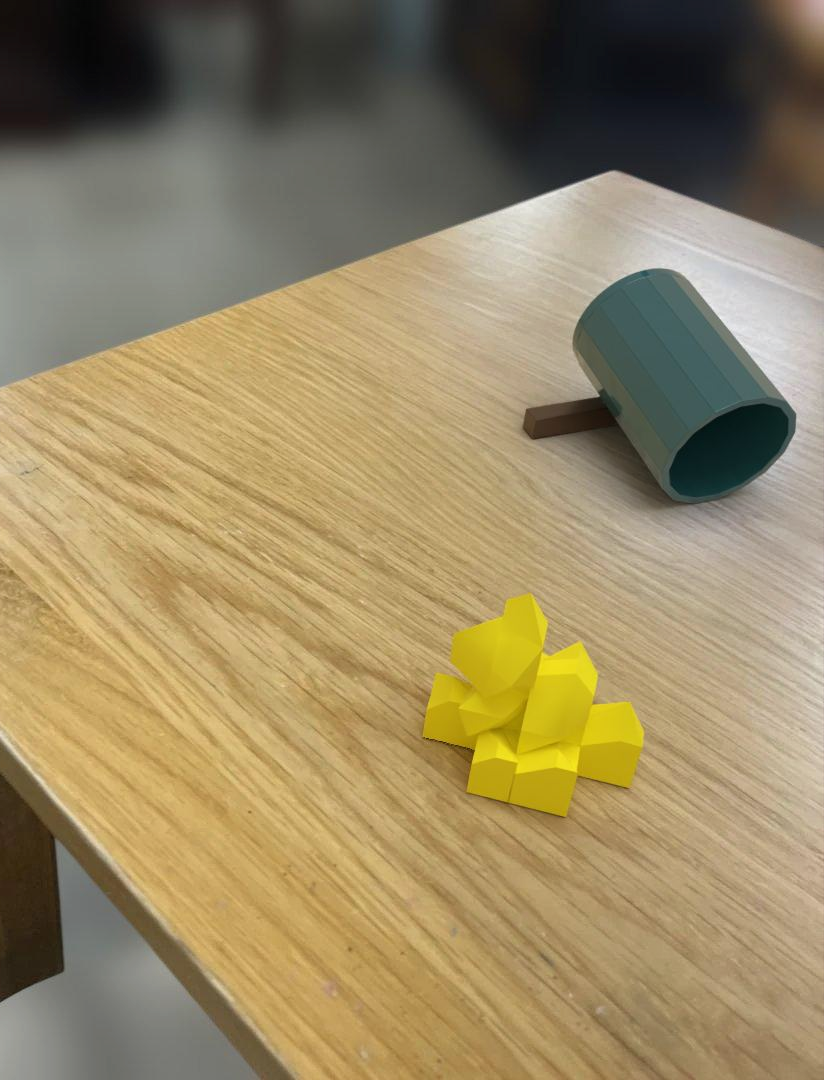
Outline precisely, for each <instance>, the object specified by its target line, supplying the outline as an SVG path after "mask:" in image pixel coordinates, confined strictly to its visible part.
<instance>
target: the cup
mask: <svg viewBox="0 0 824 1080" xmlns="http://www.w3.org/2000/svg"><path fill="white" fill-rule="evenodd" d="M571 343H572V352H573V355H574V357H575V359H576V361H577V362H578V366H579V367H580V369H581V370H582V371H583V373H584V374H585V376H586V377H587V379H588V380H589V382H590V383H591V385H592V386H593V388H594V389H595V391H596V392H597V394H598V395H599V397H601V398H602V400H603V401H604V403H605V404H606V406H607V407H608V409H609V410H610V412H611V413H612V415H613V416H614V418H615V419H616V421H617V422H618V424H617V425H618V426H619V427H620V429H621V430H622V431H623V433H624V434H625V436H626V437H627V439H628V440H629V442H630V443H631V445H632V446H633V448H634V449H635V450H636V452H637V453H638V455H639V457H640V458H641V460H642V461H643V462H644V464H645V466H646V467H647V468H648V470H649V472H650V473H651V474H652V476H653V477H654V479H655V480H656V482H657V484H658V485H659V486H660V488H661V490H663V491H664V493H666V494H667V495H668V496H669V497H670V498H671V499H672V500H673V501H675V502H676V501H677V502H682V503H687V504H699V503H704V502H710V501H716V500H719V499H721V498H723V497H726V496H729V495H730V494H733V493H736V492H737V491H740V490H742V489H744V488H746V487H747V486H748V485H749V484H751V483H753V482H754V481H756V480H757V479H759V478H760V477H762V475H764V474H766V472H768V471H769V470H770V469H771V468H772V466H773V465H775V463H776V462H777V461H778V460H779V459H780V458H781V457H782V456H783V455H784V454H785V453H786V451H787V449H788V447H789V446H790V444H791V442H792V440H793V438H794V436H795V434H796V431H797V413H796V411H795V409H794V408H793V407H792V406H791V404H790V403H789V402H788V401H787V399H786V398H785V397H784V396H783V395H782V393H781V392H780V391H779V389H778V388H777V387H776V386H775V384H774V383H773V382H772V380H770V378H769V377H768V376H767V375H766V373H764V371H763V370H762V369H761V368H760V366H759V365H758V363H756V361H755V360H754V359H753V357H752V356H751V355H750V354H749V353H748V351H747V350H746V349H745V348H744V346H743V345H742V344H741V342H739V340H738V339H737V338H736V336H735V335H734V334H733V333H732V332H731V330H730V329H729V328H728V327H727V325H726V324H725V323H724V322H723V321H722V319H720V317H719V316H718V314H717V313H716V312H715V310H714V309H713V308H712V307H711V306H710V305H709V303H708V302H707V301H706V299H704V297H703V296H702V294H700V292H699V291H698V289H696V287H695V286H694V285H693V283H691V281H690V280H689V279H688V278H687V277H686V276H685V275H683V274H682V273H681V272H679V271H676V270H674V269H670V268H663V267H657V268H655V267H653V268H647V269H643V270H639V271H635V272H633V273H630V274H628V275H626V276H624V277H622V278H620V279H618V280H617V281H615V282H613V283H611V284H610V285H609V286H608V287H606V288H605V289H603V290H602V291H601V292H599V294H598V295H596V297H594V299H593V300H591V301H590V303H589V304H588V305H587V306H586V308H585V309H584V310H583V312H582V314H581V315H580V317H579V319H578V320H577V323H576V324H575V327H574V331H573V334H572V341H571Z"/></svg>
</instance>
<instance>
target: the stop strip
mask: <svg viewBox="0 0 824 1080" xmlns="http://www.w3.org/2000/svg"><path fill="white" fill-rule="evenodd" d="M615 425H619V424H618V422H617V421H616V419H615V418H614V416H613V415H612V413H611V412H610V410H609V409H608V407H607V406H606V404H605V403H604V401H603V400H602V398H601V397H600V396H594V397H589V398H582V399H575V400H570V401H564V402H557V403H551V404H545V405H539V406H532V407H527V408H526V409H525V411H524V417H523V423H522V428H523V429H524V430H525V432H526V433H527V434H528V435H529V436H530V438H531V439H533V440H534V439H539V438H545V437H551V436H552V437H553V436H556V435H562V434H563V435H564V434H569V433H574V432H580V431H581V432H582V431H586V430H593V429H599V428H604V427H610V426H615Z"/></svg>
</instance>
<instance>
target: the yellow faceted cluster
mask: <svg viewBox="0 0 824 1080" xmlns="http://www.w3.org/2000/svg"><path fill="white" fill-rule="evenodd" d="M548 625H549V622H548V620H547V618H546V616H545V615H544V613H543V611H542V610H541V608H540V606H539V604H538V603H537V600H536V599H535V597H534V596H533V594H532V592H529V593H526V594H522V595H519V596H515V597H511V598H507V599H506V601H505V606H504V610H503V615H502V616H498V617H496V618H493V619H490V620H487V621H484V622H482V623H479V624H476V625H473V626H470V627H468V628H465V629H461V630H459V631H457V632H453V636H452V642H451V650H450V655H449V662H450V663H451V664H452V665H453V666H454V667H455V668H456V669H457V670H458V671H459V672H460V673H461V675H462V676H464V677H465V678H466V679H467V680H468V681H469V682H467V681H466V680H463V679H461V678H460V677H457V676H453V675H450V674H445V673H441V672H435V674H434V675H435V676H434V679H433V684H432V687H431V688H432V689H431V692H430V696H429V700H428V703H427V706H426V711H425V716H424V724H423V731H422V737H425V738H424V739H426V738H429V739H428V740H430V739H435V740H439V741H443V742H447V743H450V744H449V745H451V744H454V745H453V746H455V745H459V746H463V747H468V748H470V749H469V750H471V749H472V751H474V752H473V756H472V761H471V764H470V765H471V766H470V770H469V775H468V780H467V781H468V782H467V784H466V785H467V786H466V791H465V792H466V793H467V794H468V793H469V794H472V795H476V796H481V797H485V798H488V799H492V800H496V801H500V802H503V803H508V804H512V805H516V806H520V807H523V808H524V807H525V808H528V809H532V810H536V811H539V812H543V813H548V814H551V815H556V816H560V817H563V818H567V817H568V816H567V815H568V813H569V809H570V805H571V802H572V797H573V794H574V790H575V787H576V783H577V779H578V777H582V778H586V779H590V780H595V781H599V782H602V783H606V784H611V785H615V786H618V787H622V788H626V789H630V787H631V785H632V781H633V778H634V776H635V772H636V769H637V766H638V763H639V760H640V757H641V753H642V750H643V748H644V739H645V738H644V736H645V729H644V728H643V726H642V724H641V721H640V720H639V717H638V716H637V713H636V711H635V709H634V707H633V704H632V703H631V701H619V702H609V703H597V704H593V703H594V700H595V699H594V698H595V694H596V689H597V682H598V678H599V673H598V672H597V669H596V668H595V666H594V664H593V662H592V659H591V658H590V656H589V654H588V652H587V650H586V648H585V646H584V645H583V642H582V641H581V640H579V641H576V642H575V643H573V644H572V645H569V646H567V647H565V648H564V649H561V650H559V651H557V652H555V653H553V654H550V655H548V654H546V653H545V652H543V650H544V645H545V641H546V636H547V631H548ZM435 740H434V741H435ZM439 741H438V742H439ZM443 742H442V743H443ZM447 743H446V744H447ZM459 746H458V747H459ZM463 747H462V748H463Z"/></svg>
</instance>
